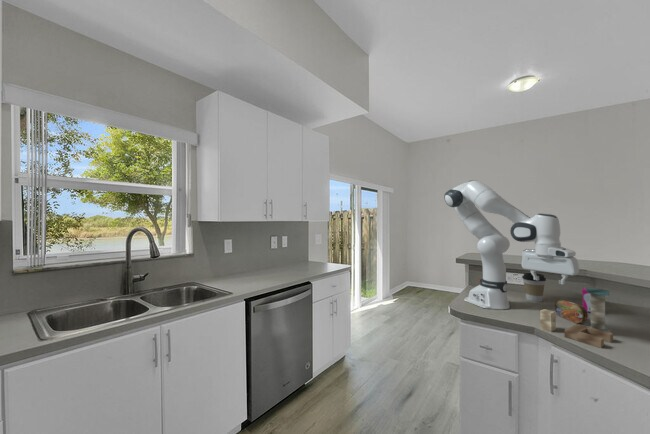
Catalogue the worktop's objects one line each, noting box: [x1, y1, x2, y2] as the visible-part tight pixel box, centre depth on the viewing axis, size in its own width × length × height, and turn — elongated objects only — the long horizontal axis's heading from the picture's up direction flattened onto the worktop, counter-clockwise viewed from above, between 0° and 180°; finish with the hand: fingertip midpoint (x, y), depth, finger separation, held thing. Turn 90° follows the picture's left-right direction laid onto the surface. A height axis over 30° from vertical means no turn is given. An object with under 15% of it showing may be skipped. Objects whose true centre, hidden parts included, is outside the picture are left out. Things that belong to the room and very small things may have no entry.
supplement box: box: [582, 287, 591, 314], centre depth 142 cm, size 6×6×12 cm
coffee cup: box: [521, 272, 547, 303], centre depth 161 cm, size 11×11×15 cm
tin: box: [554, 299, 589, 324], centre depth 131 cm, size 15×3×8 cm, turn 1°
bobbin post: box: [585, 287, 610, 332], centre depth 117 cm, size 7×7×18 cm
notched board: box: [564, 323, 614, 349], centre depth 111 cm, size 11×12×3 cm
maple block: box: [539, 308, 557, 333], centre depth 121 cm, size 4×4×8 cm
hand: (548, 282), depth 121 cm, fingers open, 8 cm apart
